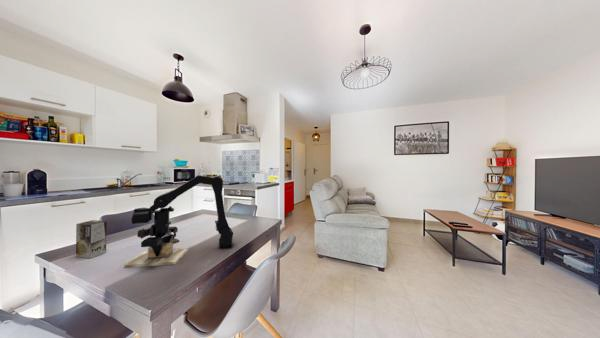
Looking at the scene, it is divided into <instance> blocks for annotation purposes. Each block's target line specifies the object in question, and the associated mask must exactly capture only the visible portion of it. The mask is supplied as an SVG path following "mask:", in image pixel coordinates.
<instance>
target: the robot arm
mask: <svg viewBox="0 0 600 338" xmlns="http://www.w3.org/2000/svg"><path fill="white" fill-rule="evenodd" d="M199 184H205V185H209V186H211V188H212V190H213V193H214V198H215V199H214V200H215V206H216V214H217V220H214V224H215V230H216V232H218V234H219V235H220V237H219V238H218V246H219V247H218V249H231V248H232V247H233V245H234V232H233V229H232V228H231V227H230V226H229V223H228V220H227V218H226V214H225V212H226V211H225V204H224V197H223V187H224V181H223V178H221V177H220V176H216V175H215V176H206V175H204V176H203V175H200V174H198V175H195V177H194V178H191V179H190V180H189V181H187V182H185V183H183V184H182V185H180V186H178V187H176V188H175V189H173V190H170V191H167V192H165V193H162V194H160V195H158V196H157V197H156V198H155V199H154V201H153V204H152V205H151V206H150V207H146V208H145V207H144V208H139V207H138V208H134V210H133V212H132V217H131V224H132V225H138V224H149V223H150V222H151V221H153V224H151V225H150V227H148V228H142V229H140V230H138V231H137V233H136V234H137V237H138V238H140V239H141V240H142V239H143V240H142V241H141V242H140V247H141V248H149V247H152V249H153V251H154V253H155V256H156V257H158V256H159V255H160V252H161V250H162V247H163V244H164V243H170V241H171V239H172V238H173V236H174V233H176V234H177V233H178V231H179V230H178V227H177V226H170V225H172V221H170V213H171V212H174V211H175V208H174V207H172V205H170V204H171V203H172V202H174V201H175V200H176V199H177V198H178V197H179V196H181V195H183V194H184V193H186V192H188V191H189V190H190V189H192V188H194V187H196V186H197V185H199ZM169 205H170V206H169ZM167 206H168V207H167ZM171 232H172V233H173V234H172V233H171ZM146 237H147V238H146ZM144 238H145V239H144Z"/></svg>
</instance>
